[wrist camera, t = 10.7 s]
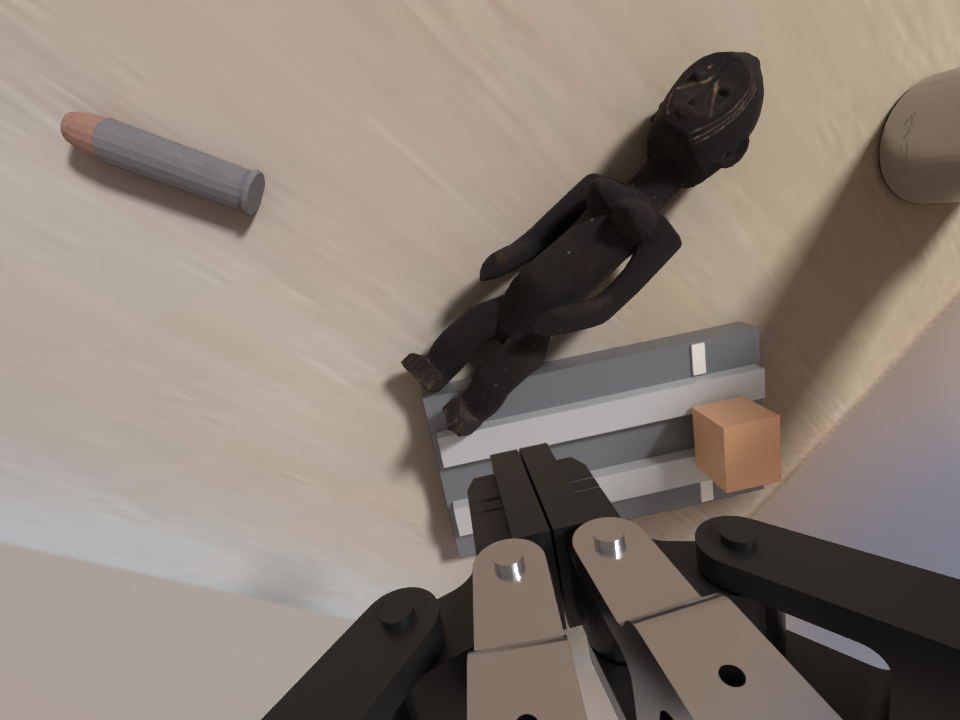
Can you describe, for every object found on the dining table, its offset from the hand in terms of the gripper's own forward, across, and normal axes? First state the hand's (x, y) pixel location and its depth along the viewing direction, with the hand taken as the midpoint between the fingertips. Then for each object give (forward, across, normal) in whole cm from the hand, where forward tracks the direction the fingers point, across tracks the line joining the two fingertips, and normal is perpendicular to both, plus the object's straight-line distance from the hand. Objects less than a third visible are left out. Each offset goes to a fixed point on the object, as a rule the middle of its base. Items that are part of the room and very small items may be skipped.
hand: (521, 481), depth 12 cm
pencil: (+26, +16, -14) cm, 33 cm away
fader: (+22, -17, +12) cm, 31 cm away
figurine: (+25, -9, -4) cm, 27 cm away
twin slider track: (+25, -9, +12) cm, 29 cm away
